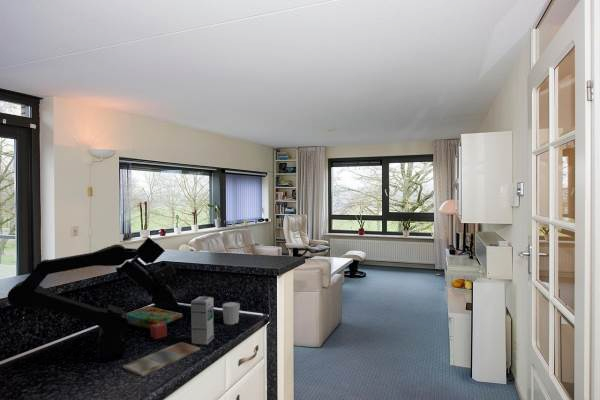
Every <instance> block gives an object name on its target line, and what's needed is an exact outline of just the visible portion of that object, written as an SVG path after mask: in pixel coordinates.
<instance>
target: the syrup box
mask: <svg viewBox="0 0 600 400" xmlns="http://www.w3.org/2000/svg"><path fill="white" fill-rule="evenodd" d="M214 305H215V304H214V297H212V296H198V297H197V298H195V299H193V300H191V301H190V313H191V316H190V317H191V318H190V319H191V320H190V321H191V344H194V345H195V344H196V345H209V343H210V342H212V340H213V339H214V338H215V320H214V319H215V317H214V316H215V314H214V311H215V309H214V307H215V306H214Z"/></svg>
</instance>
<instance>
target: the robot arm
mask: <svg viewBox="0 0 600 400" xmlns="http://www.w3.org/2000/svg"><path fill="white" fill-rule="evenodd" d="M165 252H166V250H165V249H164V248H163V247H162V246H161V245H160V244H159V243H157V242H155V241H154V240H153V239H152V238H151V237H150V236H148V237H147V238H146V239H144V242H143V243H142V244H140V245H139V246H138V247H137V248H129V247H125V246H124V245H122V244H113V245H110V246H106V247H104V248H102V249H99V250H95V251H92V252H89V253H82V254H75V255H69V256H66V257H65V256H64V257H58V258H57V257H56V258H53V259H44V260H41V261H39V262H38V264H36V266H35V268H34V269H33V271H31V272H30V274H29V275H28V276H27V277H26V278H25V279H24V280H22V281H20V282H18V283H16V284H15V285H14V286H13V287H12V288H11V289H10V290H9V291H8V293H7V300H8V301H7V302H8V303H9V304H10V305H11V306H14V307H19V308H25V309H26V308H27V309H45V310H49V311H52V312H56V313H59V314H61V315H65V316H70V317H72V318H76V319H79V320H83V321H86V322H88V323H89V322H90V323H93V324H95V325H96V326H98V327H99V334H98V335H99V336H98V358H97V359H98V360H97V362H98V363H104V362H110V361H116V360H121V359H123V355H124V354H125V339H124V338H125V337H123V333H124V332H125V331H126V330H127V329H128V327H129V324H128V317H127V314H126V313H127V312H126V311H125V310H123V307H117V306H115V305H113V304H108V305H107V308H105V307H104V308H103V307H101V308H100V307H97V306H95V305H90V304H87V303H84V302H81V301H78V300H75V299H71V298H68V297H65V296H62V295H58V294H55V293H52V292H50V291H49V290H48V289H46V288H45V287H43V286H41V285H40V284H41V283H42V282H43V281H44V280H45V278H46V277H47V276H48V275H50V274H57V273H62V272H67V271H73V270H78V269H84V268H89V267H95V266H98V267H99V266H101V267H115V271H116V278H120V277H121V276H122V275H123V274H124V275H125V276H126V277H128V278H129V279H130V280H131V281H133V283H135V284H136V286H137V287H139V288H142V290H144V292H146V294H147V296H148V295H149V296H150V302H151V303H152V304H153V305H154V306H156V307H157V306H158V307H162V308H168V309H173V310H177V311H179V310H181V308H182V307H181V306H180V304H179V303H178V302H177V299H176V297H175V296H174V295H173V289H172V288H171V287H170V286H169V285H168V282H167V280H166V279H167V278H170V276H174V275H175V274H176V273H177V270H176V268H175V266H174V265H173V263H172V262H168V263H167V262H166V261H164V260H163V261H162V262H160V263H159V267H157V269H155V270H154V269H153V268H149V267H147V266H146V265H148V264H154V262H156V260H158V259H159V257H161V256H162V254H164V253H165ZM129 260H130V261H129ZM140 260H141V261H140ZM118 266H119V267H118Z"/></svg>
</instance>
